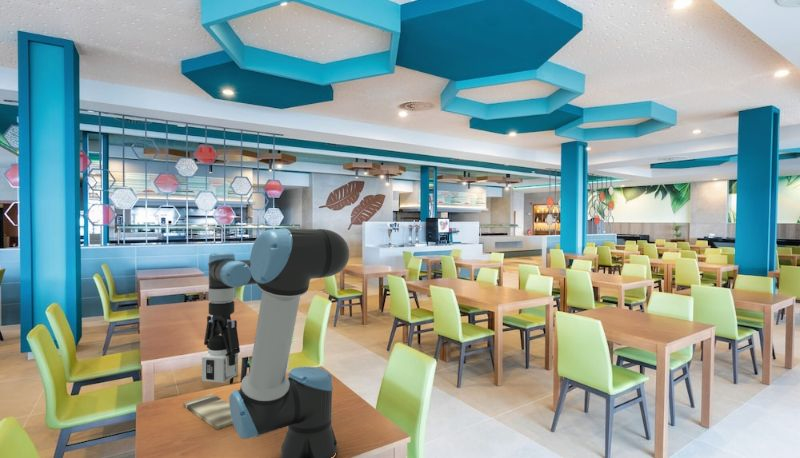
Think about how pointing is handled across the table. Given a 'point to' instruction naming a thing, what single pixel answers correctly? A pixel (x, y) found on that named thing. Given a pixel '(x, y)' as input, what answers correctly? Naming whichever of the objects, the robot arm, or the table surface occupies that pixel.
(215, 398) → the metal panel
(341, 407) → the table surface
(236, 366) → the container
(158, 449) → the table surface
